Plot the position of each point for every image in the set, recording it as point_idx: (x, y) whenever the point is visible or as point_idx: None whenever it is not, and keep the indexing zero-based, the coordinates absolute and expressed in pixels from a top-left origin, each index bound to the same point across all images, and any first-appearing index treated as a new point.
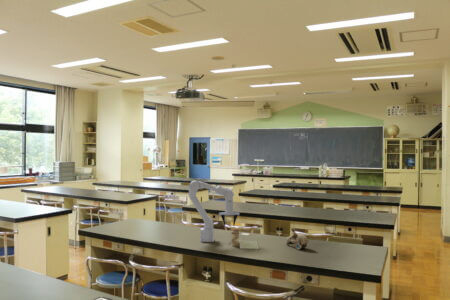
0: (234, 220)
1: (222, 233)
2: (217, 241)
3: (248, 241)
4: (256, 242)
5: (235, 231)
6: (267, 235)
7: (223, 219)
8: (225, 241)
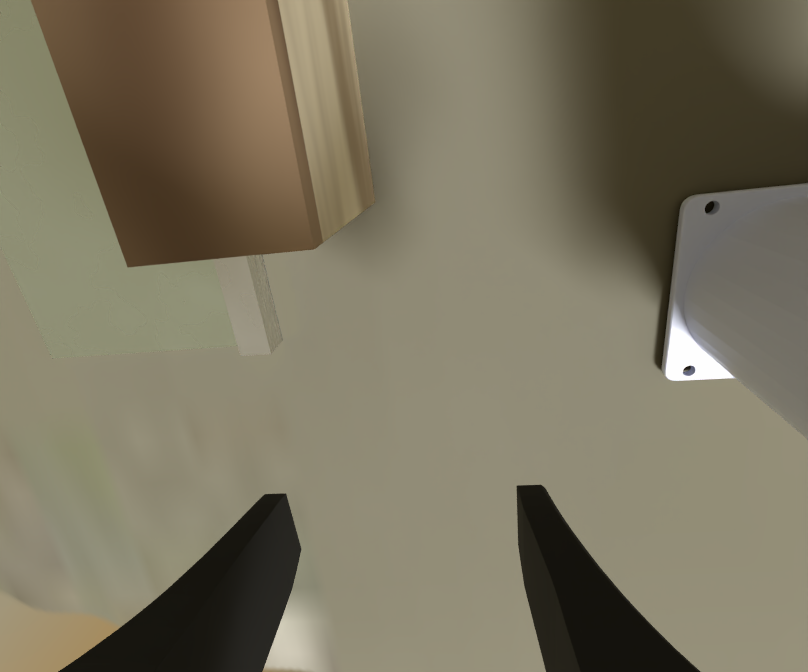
0: (169, 619)
1: (535, 640)
2: (609, 260)
3: (139, 305)
4: (20, 267)
5: (152, 55)
6: (41, 589)
7: (641, 663)
8: (475, 280)
